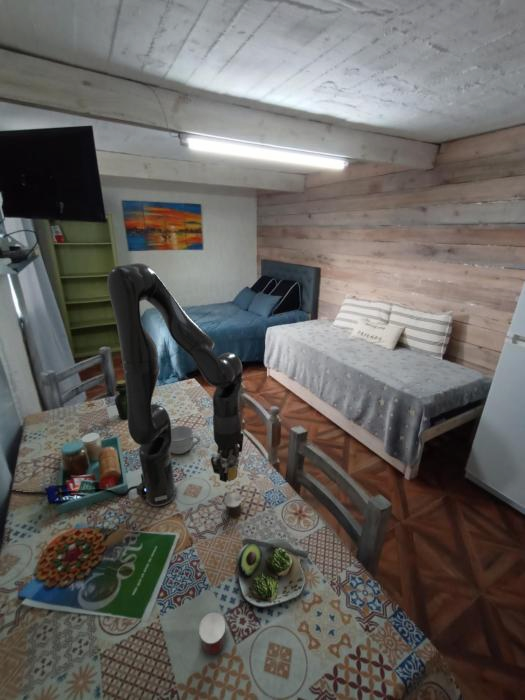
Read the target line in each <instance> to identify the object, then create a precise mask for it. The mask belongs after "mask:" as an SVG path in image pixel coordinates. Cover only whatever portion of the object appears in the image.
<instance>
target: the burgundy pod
mask: <svg viewBox="0 0 525 700" xmlns="http://www.w3.org/2000/svg"><path fill="white" fill-rule="evenodd" d="M226 629H227V625H226V619H225V618H224V616H223V615H222V614H221V613H220V612H215V611H212V612H209V613H207V614H206V615H205V616H204V617H203V618H202V619H201V621H200V623H199V627H198V634H199V638H200V640H201V641H202V646H203V650H204V652H206V653H207V654H209V655H216V654H218V653H219V652H220V651H221V650H222V649H223V647H224V644H225V633H226Z"/></svg>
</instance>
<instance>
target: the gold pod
mask: <svg viewBox="0 0 525 700" xmlns="http://www.w3.org/2000/svg"><path fill="white" fill-rule="evenodd" d="M222 459H223V460H226V461H227V459H224V458H222ZM239 463H240V461H239V457H238V458H237V457H236V456H234V455H231V460H230V464H228V468H227V474H228V481H227V482H230V481H234V480H235V479H236V478H237V477H238V468H237V465H238V466H239ZM222 467H224V464H222Z"/></svg>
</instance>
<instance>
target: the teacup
mask: <svg viewBox="0 0 525 700" xmlns="http://www.w3.org/2000/svg"><path fill="white" fill-rule="evenodd" d="M171 436H172V442H171V446H170V452H171V453H173V454H176V455H182V454H185V453H187V452H188V451H189V450H191V449H192V448H194V446H197V445H199V444H200V442H201V437H200V435H198V434H194V430H193V428H192V427H191V426H189V425H188V426H187V425H176V426H173V427H171ZM194 438H195V439H196V440H197V441H195V442H194Z"/></svg>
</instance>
